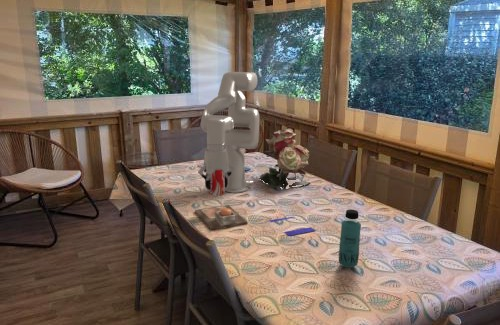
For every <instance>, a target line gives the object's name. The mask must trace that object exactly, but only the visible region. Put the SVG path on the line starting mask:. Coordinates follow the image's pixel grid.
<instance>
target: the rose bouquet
mask: <svg viewBox="0 0 500 325" xmlns="http://www.w3.org/2000/svg"><path fill="white" fill-rule="evenodd" d="M270 134H271V136H272V138H267V139H266V138H265V141H266V143H267V145H269V147H270V149H271V150H266V151H264V153H269V154H274V156H278V159H277V162H276V164H275V165H274V167H276V168H274V167H272V166H270V167H268V172H265V173H261V175H260V176H259V178H258V179H261V180H263V181H264V182H265V183H268V186H269V187H271V189H276V188H277V189H276V190H279V191H281V190H280V189H281V188H280V187H282V188H283V187H284V186H283V184H285V185H287V182H286V178H287V177H289V175H290V174H294V176H293V177H289V178H287V179H288V180H296V179H299V178H297V174H299V175H301V177H303V178H304V177H305V175H306V171H305V170H304V168H305V167H306V166H309V165H310V164H309V161H308V160H309V156H310V154H309V153H310V151H309V150H308V149H307V148H306V147H303V146H302V145H300V144H297V141H296V139H295V137H296V136H297V133H295V132H294V130H293V129H292V128H290V127H288V128H286V129H280V130H278V131H273V132H270ZM296 144H297V145H296ZM270 157H271V155H266V158H270ZM277 168H278V170H277ZM263 181H262V182H263ZM306 181H307V180H304V181H301V182H295V183H293V184H292V185H289V187H291V188H293V187H292V186H296V185H304V186H303V187H305V186H306V185H308V184H311V182H310V181H309V182H306Z"/></svg>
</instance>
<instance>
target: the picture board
mask: <svg viewBox="0 0 500 325" xmlns="http://www.w3.org/2000/svg"><path fill="white" fill-rule="evenodd" d="M223 208H229V209H231V215H229V216H223V217H222V216H221V209H223ZM194 212H195V214H196V215H197V216H198V217H199V219H200V220H201V221H203V222H202V223H204V224H205V225H206V226H207V227H208V228H209V229H210V230H211V231H213V230H221V229H227V228H233V227H237V226H244V225H248V224H249V222H248V221H247V220H246V219H245V218H244V217H243V216H242V215H240V214H239V212H237V211H236V210H235V209H234V208H232V207H231V206H230V205H229V204H226V205H225V204H224V205H220V206H212V207H205V208H199V209H195V210H194Z"/></svg>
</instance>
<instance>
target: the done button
mask: <svg viewBox="0 0 500 325" xmlns="http://www.w3.org/2000/svg"><path fill="white" fill-rule="evenodd" d="M229 215H231V209H229V208H223V209H221V216H222V217H223V216H229Z"/></svg>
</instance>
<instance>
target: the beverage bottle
mask: <svg viewBox="0 0 500 325" xmlns="http://www.w3.org/2000/svg"><path fill="white" fill-rule="evenodd" d="M357 219H359V211H358V210H356V209H346V211H345V219H344V220H342V222H341V223H340V224H341V228H340V237H339V248H338V263H339V264H340V265H341V266H342V267H345V268H354V267H357V265H358V263H359V257H360V256H359V255H360V243H361V237H360V236H361V227H362V224H361V222H360V221H359V220H357Z"/></svg>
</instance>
